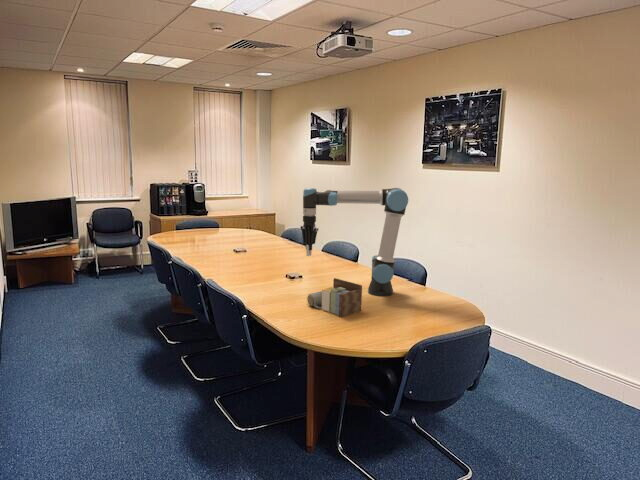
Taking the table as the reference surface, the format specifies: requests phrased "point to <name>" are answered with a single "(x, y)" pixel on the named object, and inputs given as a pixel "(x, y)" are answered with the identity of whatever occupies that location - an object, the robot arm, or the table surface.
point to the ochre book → (326, 299)
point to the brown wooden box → (345, 297)
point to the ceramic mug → (315, 299)
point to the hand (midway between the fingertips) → (308, 255)
